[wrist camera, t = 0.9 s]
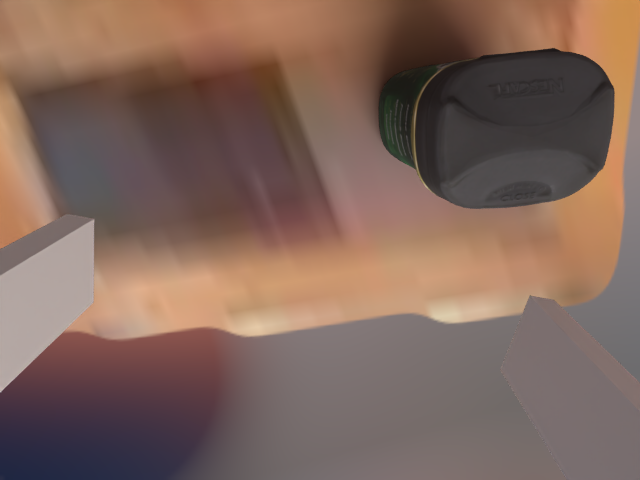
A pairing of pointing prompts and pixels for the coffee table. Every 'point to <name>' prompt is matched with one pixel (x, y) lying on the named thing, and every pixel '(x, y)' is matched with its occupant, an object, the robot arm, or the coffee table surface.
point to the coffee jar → (501, 126)
